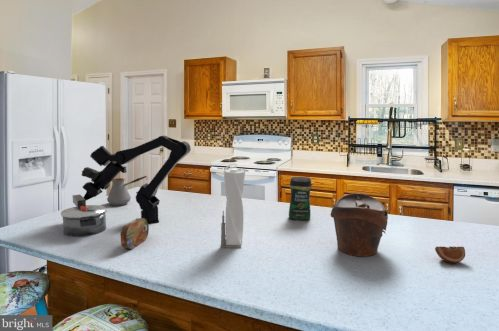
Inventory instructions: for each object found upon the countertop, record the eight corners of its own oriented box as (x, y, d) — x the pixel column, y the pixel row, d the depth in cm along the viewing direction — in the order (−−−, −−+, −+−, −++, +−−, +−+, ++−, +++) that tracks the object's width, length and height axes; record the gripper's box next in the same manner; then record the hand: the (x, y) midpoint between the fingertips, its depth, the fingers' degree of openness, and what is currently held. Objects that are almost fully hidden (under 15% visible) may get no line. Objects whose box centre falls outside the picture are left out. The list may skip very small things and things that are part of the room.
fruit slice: (439, 265, 104) (441, 249, 104) (429, 256, 111) (430, 241, 110) (468, 266, 104) (470, 250, 103) (456, 257, 110) (458, 242, 110)
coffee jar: (288, 220, 150) (289, 178, 148) (289, 215, 158) (289, 175, 155) (310, 221, 149) (312, 178, 146) (310, 216, 156) (311, 175, 154)
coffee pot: (102, 206, 172) (101, 176, 170) (114, 201, 184) (113, 173, 182) (143, 207, 170) (142, 177, 168) (152, 202, 181) (151, 174, 179)
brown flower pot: (356, 265, 103) (360, 207, 101) (318, 244, 122) (320, 194, 120) (400, 257, 111) (405, 202, 108) (358, 238, 129) (360, 190, 127)
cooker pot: (111, 234, 130) (110, 216, 129) (66, 242, 122) (65, 222, 121) (99, 218, 152) (98, 202, 151) (60, 223, 144) (59, 207, 143)
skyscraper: (223, 239, 126) (222, 163, 122) (245, 239, 126) (245, 163, 122) (220, 247, 118) (220, 166, 114) (244, 248, 117) (244, 166, 114)
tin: (127, 252, 113) (126, 227, 112) (119, 252, 114) (118, 227, 112) (149, 237, 128) (149, 215, 126) (142, 236, 128) (141, 214, 127)
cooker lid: (111, 214, 132) (110, 204, 132) (64, 221, 123) (63, 210, 123) (96, 201, 153) (96, 192, 152) (55, 206, 144) (55, 197, 143)
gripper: (100, 158, 153) (76, 183, 153) (86, 163, 135) (58, 192, 135) (119, 175, 155) (96, 200, 155) (108, 182, 137) (81, 210, 137)
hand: (83, 200), depth 146 cm, fingers closed
